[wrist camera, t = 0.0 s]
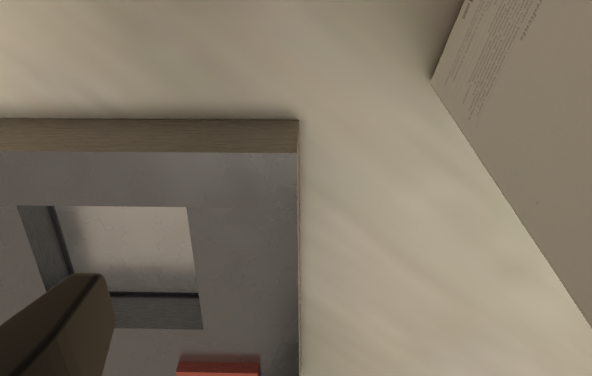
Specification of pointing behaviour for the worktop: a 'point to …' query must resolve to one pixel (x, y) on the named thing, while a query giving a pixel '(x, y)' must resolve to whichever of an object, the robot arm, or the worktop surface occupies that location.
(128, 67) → the worktop surface
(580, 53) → the skincare box
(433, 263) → the worktop surface
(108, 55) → the worktop surface
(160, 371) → the socket plate
